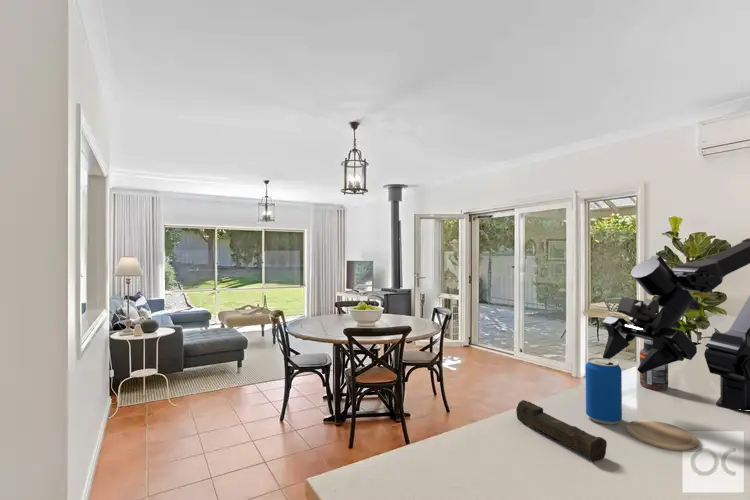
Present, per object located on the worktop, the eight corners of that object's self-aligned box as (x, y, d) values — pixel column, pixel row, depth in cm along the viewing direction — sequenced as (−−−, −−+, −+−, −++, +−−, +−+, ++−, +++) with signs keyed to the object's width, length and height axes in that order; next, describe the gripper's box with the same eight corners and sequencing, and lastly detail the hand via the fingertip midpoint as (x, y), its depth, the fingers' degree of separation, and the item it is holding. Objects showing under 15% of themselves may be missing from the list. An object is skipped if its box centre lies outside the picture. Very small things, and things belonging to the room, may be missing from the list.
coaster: (637, 418, 83) (637, 415, 83) (705, 436, 75) (705, 433, 75) (618, 434, 76) (618, 431, 76) (690, 457, 67) (690, 453, 67)
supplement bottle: (638, 381, 106) (637, 338, 106) (665, 384, 103) (665, 340, 103) (641, 388, 100) (641, 343, 100) (670, 392, 98) (670, 346, 98)
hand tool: (609, 460, 67) (608, 432, 67) (592, 465, 66) (591, 437, 66) (527, 417, 85) (527, 395, 85) (512, 420, 83) (512, 398, 83)
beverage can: (621, 428, 78) (621, 367, 78) (584, 421, 82) (584, 362, 82) (622, 416, 84) (621, 359, 84) (587, 410, 87) (586, 355, 87)
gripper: (609, 281, 94) (567, 330, 92) (684, 288, 75) (633, 350, 73) (638, 313, 95) (597, 362, 93) (718, 328, 77) (670, 390, 75)
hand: (620, 365), depth 84 cm, fingers open, 9 cm apart
